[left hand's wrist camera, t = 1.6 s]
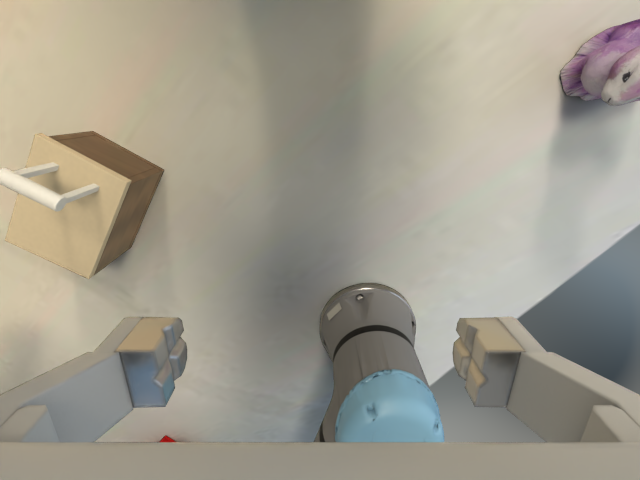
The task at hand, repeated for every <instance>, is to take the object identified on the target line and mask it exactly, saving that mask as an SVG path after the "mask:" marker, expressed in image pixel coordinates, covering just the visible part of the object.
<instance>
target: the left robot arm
mask: <svg viewBox="0 0 640 480" xmlns="http://www.w3.org/2000/svg"><path fill="white" fill-rule="evenodd" d="M183 331H184V328H183V324H182V320H181V319H180V318H170V317H127V318H124V319H123V320H122V321H121V322H120V323H119V325H118V326H117V327H116V328H115V329H114V330H113V331H112V332H111V333H110V334H109V335H108V337H107V338H106V339H105V340H104V341H103V342H102V343H101V344H100V345H99V346H98V347H97V349H96V350H95V351H94V352H87V353H85V354H83V355H81V356H79V357H77V358H75V359H73V360H71V361H69V362H66V363H64V364H62V365H60V366H58V367H56V368H54V369H52V370H50V371H48V372H46V373H44V374H42V375H40V376H38V377H36V378H34V379H32V380H30V381H28V382H26V383H23V384H21V385H19V386H17V387H15V388H13V389H11V390H9V391H7V392H5V393H3V394H1V395H0V480H640V395H639V394H637V393H635V392H633V391H631V390H629V389H627V388H624V387H622V386H620V385H618V384H616V383H614V382H612V381H610V380H608V379H606V378H604V377H602V376H600V375H598V374H596V373H594V372H592V371H590V370H588V369H586V368H584V367H582V366H580V365H578V364H575V363H573V362H571V361H569V360H567V359H565V358H563V357H561V356H559V355H557V354H555V353H553V352H546V351H545V350H544V349H543V348H542V346H541V345H540V344H539V343H538V342H537V341H536V340H535V339H534V338H533V337H532V335H531V334H530V333H529V332H528V331H527V330H526V329H525V328H524V327H523V326H522V325H521V323H520V322H519V321H518V320H517V319H516V318H514V317H494V318H460V319H459V321H458V323H457V328H456V331H457V333H458V334H459V336H460V337H459V338H458V339H457V340H456V341H455V342H454V346H453V362H454V365H455V369H456V371H457V373H458V375H459V376H460V377H461V378H463V379H464V380H466V384H465V389H466V391H467V393H468V395H469V397H470V399H471V401H472V403H473V404H474V406H475V407H500V408H507V410H508V411H509V412H511V413H512V414H513V415H514V416H515V417H517V418H518V419H519V420H520V421H521V422H523V423H524V424H525V425H526V426H527V427H529V428H530V429H531V430H532V431H533V432H535V433H536V434H537V435H538V436H539V437H541V438H542V439H543V440H544V441H545V442H95V441H96V440H97V439H98V438H99V437H101V436H102V435H103V434H104V433H105V432H107V431H108V430H109V429H110V428H112V427H113V426H114V425H115V424H116V423H118V422H119V421H120V420H121V419H122V418H124V417H125V416H126V415H127V414H128V413H130V412H131V411H132V410H133V408H140V407H165V406H166V405H167V403H168V401H169V399H170V397H171V395H172V393H173V391H174V389H175V384H174V380H176V379H177V378H179V377H180V376H181V375H182V373H183V371H184V369H185V365H186V361H187V346H186V342H185V341H184V340H183V339H182V338H181V337H180V336H181V334H182V333H183Z"/></svg>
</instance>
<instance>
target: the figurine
mask: <svg viewBox="0 0 640 480" xmlns="http://www.w3.org/2000/svg"><path fill="white" fill-rule="evenodd" d="M560 76H561V80H562V81H561V82H562V84H563V85H562V86H563V88H564V89H563V90H564V91H565V93H566V94H567V95H569V96H579V97H580V98H581V99H583V100H586V101H589V100H595V99H600V98H602V99H603V101H604V102H606V103H607V104H609V105H611V106H619V105H623V104H626V103H630V102H634V101H638V100H640V19H638V20H635V21H631V22H628V23H625V24H622V25H618V26H614V27H611V28H609V29H607V30H605V31H603V32H601V33H600V34H598V35H596V36H595V37H593V38H591V39H590V40H589V41H588V42H586V43H585V44H584V45H582V47H581V48H580V49H579V51H578V52H577V53H576V55H575V57H574V58H573V59H572V60H571V61H570V62H568V63H567V64H566V65H565V66H564V67H563V69H562V70H561V75H560Z"/></svg>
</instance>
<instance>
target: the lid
mask: <svg viewBox="0 0 640 480" xmlns="http://www.w3.org/2000/svg"><path fill="white" fill-rule="evenodd" d="M130 183H131V180H130V179H128V178H126V177H124V176H122V175H120V174H118V173H116V172H114V171H113V170H111V169H109V168H107V167H105V166H103V165H101V164H99V163H97V162H95V161H94V160H92V159H90V158H88V157H86V156H84V155H82V154H80V153H78V152H76V151H75V150H73V149H71V148H69V147H67V146H65V145H63V144H61V143H59V142H57V141H56V140H54V139H52V138H50V137H48V136H46V135H44V134H42V133H40V134H35V136H34V140H33V143H32V147H31V150H30V154H29V157H28V161H27V164H26V168H24V169H20V170H15V171H12V170H10V169H8V168H2V169H0V184H1V185H3V186H5V187H7V188H9V189H11V190H13V191H15V192H17V193H18V196H17V199H16V203H15V206H14V210H13V214H12V217H11V221H10V224H9V228H8V231H7V235H6V238H5V241H7V242H9V243H11V244H14V245H16V246H18V247H20V248H22V249H24V250H27V251H29V252H31V253H33V254H35V255H37V256H40V257H42V258H44V259H46V260H48V261H50V262H53V263H55V264H57V265H59V266H61V267H63V268H66V269H68V270H70V271H72V272H74V273H77V274H79V275H81V276H83V277H85V278H87V279H90V278H91V277H93V276H94V274H95V271H96V269H97V266H98V264H99V261H100V259H101V256H102V254H103V251H104V249H105V246H106V244H107V241H108V239H109V236H110V233H111V231H112V228H113V226H114V223H115V221H116V218H117V216H118V213H119V211H120V208H121V206H122V203H123V201H124V198H125V196H126V193H127V191H128V188H129V186H130Z"/></svg>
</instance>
